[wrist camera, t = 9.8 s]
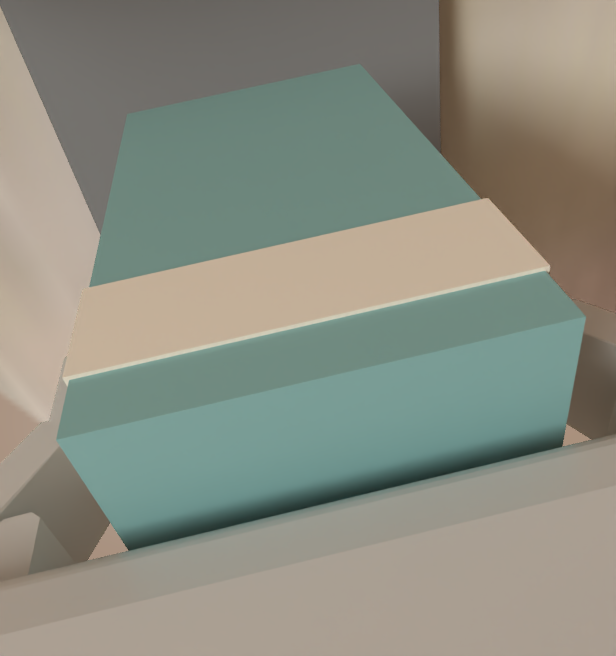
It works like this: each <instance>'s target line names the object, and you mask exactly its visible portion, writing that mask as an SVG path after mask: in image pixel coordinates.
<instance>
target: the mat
mask: <svg viewBox="0 0 616 656" xmlns="http://www.w3.org/2000/svg"><path fill="white" fill-rule="evenodd" d="M0 6H1V9H2V11H3V13H4V16H5V18H6V20H7V22H8V25H9V27H10V29H11V32H12V34H13V36H14V38H15V41H16V43H17V45H18V48H19V50H20V52H21V54H22V57H23V59H24V61H25V63H26V66H27V68H28V70H29V73H30V75H31V77H32V79H33V82H34V84H35V86H36V89H37V91H38V93H39V95H40V98H41V100H42V102H43V105H44V107H45V109H46V111H47V114H48V116H49V118H50V121H51V123H52V125H53V127H54V130H55V132H56V134H57V137H58V139H59V141H60V143H61V146H62V148H63V150H64V152H65V155H66V157H67V159H68V162H69V164H70V166H71V168H72V171H73V173H74V175H75V178H76V180H77V182H78V184H79V187H80V189H81V191H82V194H83V196H84V198H85V200H86V203H87V205H88V207H89V210H90V212H91V214H92V216H93V219H94V221H95V223H96V226H97V228H98V230H99V232H100V235H101V231H102V227H103V222H104V218H105V213H106V209H107V204H108V199H109V195H110V190H111V186H112V181H113V177H114V172H115V167H116V163H117V158H118V154H119V149H120V144H121V140H122V135H123V131H124V126H125V122H126V117H127V114H129V113H134V112H139V111H143V110H148V109H153V108H157V107H162V106H167V105H171V104H176V103H180V102H185V101H190V100H194V99H199V98H204V97H208V96H213V95H218V94H222V93H227V92H231V91H236V90H241V89H245V88H250V87H255V86H259V85H264V84H269V83H273V82H278V81H282V80H287V79H292V78H296V77H301V76H306V75H310V74H315V73H320V72H324V71H329V70H333V69H338V68H343V67H347V66H352V65H357V64H361V65H362V67H363V68H364V69H365V70H366V71H367V72H368V73H369V74H370V76H371V77H372V78H373V79H374V80H375V81H376V82H377V83H378V84H379V86H380V87H381V88H382V89H383V90H384V91H385V92H386V93H387V95H388V96H389V97H390V98H391V99H392V100H393V101H394V102H395V103H396V105H397V106H398V107H399V108H400V109H401V110H402V111H403V112H404V113H405V115H406V116H407V117H408V118H409V119H410V120H411V121H412V122H413V124H414V125H415V126H416V127H417V128H418V129H419V130H420V131H421V132H422V134H423V135H424V136H425V137H426V138H427V139H428V140H429V141H430V143H431V144H432V145H433V146H434V147H435V148H436V149H437V150H438V151H439V153H440V154H441V141H440V53H439V0H0Z"/></svg>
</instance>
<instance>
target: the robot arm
mask: <svg viewBox="0 0 616 656" xmlns="http://www.w3.org/2000/svg"><path fill="white" fill-rule="evenodd" d="M572 301H573V302H574V303H575V305H576V306H577V307H578V308H579V309H580V310H581V311H582V312H583V314H584V315H585V316H586V320H585V325H584V331H583V336H582V342H581V347H580V353H579V358H578V364H577V369H576V374H575V380H574V385H573V391H572V396H571V402H570V407H569V412H568V418H567V423H566V424H568V425H569V426H571V427H572V428H574V429H576V430H577V431H579V432H580V433H582V434H584V435H585V436H587V437H589V438H590V439H592V440H588V441H584V442H581V443H576V444H572V445H568V446H563V447H559V448H555V449H551V450H547V451H542V452H538V453H534V454H530V455H526V456H521V457H517V458H513V459H509V460H505V461H500V462H496V463H492V464H488V465H484V466H480V467H475V468H471V469H467V470H463V471H459V472H454V473H450V474H446V475H442V476H438V477H433V478H429V479H425V480H421V481H417V482H413V483H408V484H404V485H400V486H396V487H392V488H388V489H383V490H379V491H375V492H371V493H367V494H363V495H359V496H354V497H350V498H346V499H342V500H338V501H334V502H329V503H325V504H321V505H317V506H313V507H309V508H305V509H300V510H296V511H292V512H288V513H284V514H280V515H275V516H271V517H267V518H263V519H259V520H255V521H251V522H246V523H242V524H238V525H234V526H230V527H226V528H221V529H217V530H213V531H209V532H205V533H201V534H196V535H192V536H188V537H184V538H180V539H176V540H172V541H167V542H163V543H159V544H155V545H151V546H147V547H142V548H138V549H134V550H130V551H126V552H122V553H117V554H113V555H109V556H105V557H101V558H97V559H93V560H88V559H89V557H90V555H91V554H92V552H93V550H94V548H95V547H96V545H97V544H98V542H99V540H100V539H101V537H102V535H103V534H104V532H105V531H106V529H107V527H108V526H109V524H110V521H109V520H108V518H107V517H106V515H105V514H104V512H103V511H102V509H101V508H100V506H99V505H98V503H97V502H96V500H95V499H94V497H93V496H92V494H91V493H90V491H89V489H88V488H87V486H86V485H85V483H84V482H83V480H82V479H81V477H80V476H79V474H78V473H77V471H76V470H75V468H74V467H73V465H72V464H71V462H70V461H69V459H68V458H67V456H66V455H65V453H64V452H63V450H62V448H61V447H60V445H59V444H58V442H57V441H56V437H57V433H58V428H59V424H60V419H61V415H62V410H63V405H64V401H65V396H66V392H67V385H66V384H65V382H64V380H63V378H62V376H63V372H64V367H65V363H66V359H67V356H66V357H65V358H64V361H63V365H62V369H61V373H60V377H59V381H58V385H57V389H56V394H55V398H54V402H53V406H52V410H51V414H50V418H49V421H46V422H42V423H40V424H39V425H38V426H37V427H36V428H35V429H34V430H33V431H32V432H31V433H30V434H29V435H28V436H27V437H26V438H25V439H24V440H23V441H22V442H21V443H20V444H19V445H18V446H17V447H16V448H15V449H14V450H13V451H12V452H11V453H10V454H9V455H8V456H7V457H6V458H5V460H3V461H2V462H1V463H0V656H616V313H614V312H611V311H608V310H605V309H602V308H599V307H596V306H593V305H590V304H588V303H585V302H582V301H579V300H576V299H572ZM87 560H88V561H87Z"/></svg>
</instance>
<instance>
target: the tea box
mask: <svg viewBox="0 0 616 656" xmlns="http://www.w3.org/2000/svg"><path fill="white" fill-rule="evenodd" d="M549 272H550V265H549V264H548V263H547V261H546V260H545V259H544V258H543V257H542V256H541V255H540V254H539V253H538V252H537V251H536V250H535V248H534V247H533V246H532V245H531V244H530V243H529V242H528V241H527V240H526V239H525V238H524V236H523V235H522V234H521V233H520V232H519V231H518V230H517V229H516V228H515V227H514V226H513V224H512V223H511V222H510V221H509V220H508V219H507V218H506V217H505V216H504V215H503V214H502V213H501V211H500V210H499V209H498V208H497V207H496V206H495V205H494V204H493V203H492V202H491V201H490V199H489V198H485V199H481V198H480V197H479V196H478V195H477V194H476V193H475V192H474V191H473V189H472V188H471V187H470V186H469V185H468V184H467V183H466V182H465V181H464V179H463V178H462V177H461V176H460V175H459V174H458V173H457V172H456V170H455V169H454V168H453V167H452V166H451V165H450V164H449V163H448V162H447V160H446V159H445V158H444V157H443V156H442V155H441V154H440V153H439V151H438V150H437V149H436V148H435V147H434V146H433V145H432V144H431V143H430V141H429V140H428V139H427V138H426V137H425V136H424V135H423V134H422V132H421V131H420V130H419V129H418V128H417V127H416V126H415V125H414V124H413V122H412V121H411V120H410V119H409V118H408V117H407V116H406V115H405V113H404V112H403V111H402V110H401V109H400V108H399V107H398V106H397V105H396V103H395V102H394V101H393V100H392V99H391V98H390V97H389V96H388V95H387V93H386V92H385V91H384V90H383V89H382V88H381V87H380V86H379V84H378V83H377V82H376V81H375V80H374V79H373V78H372V77H371V76H370V74H369V73H368V72H367V71H366V70H365V69H364V68H363V67H362V65H361V64H357V65H352V66H347V67H343V68H338V69H333V70H329V71H324V72H320V73H315V74H310V75H306V76H301V77H296V78H292V79H287V80H282V81H278V82H273V83H269V84H264V85H259V86H255V87H250V88H245V89H241V90H236V91H231V92H227V93H222V94H218V95H213V96H208V97H204V98H199V99H194V100H190V101H185V102H180V103H176V104H171V105H167V106H162V107H157V108H153V109H148V110H143V111H139V112H134V113H129V114H127V117H126V122H125V126H124V131H123V135H122V140H121V144H120V149H119V154H118V158H117V163H116V167H115V172H114V177H113V181H112V186H111V190H110V195H109V199H108V204H107V209H106V213H105V218H104V222H103V227H102V231H101V236H100V241H99V245H98V250H97V254H96V259H95V264H94V268H93V273H92V277H91V282H90V286H89V288H85V289H83V290H82V294H81V299H80V303H79V307H78V312H77V316H76V320H75V324H74V329H73V333H72V337H71V342H70V346H69V350H68V354H67V359H66V363H65V367H64V372H63V376H62V378H63V380H64V382H65V384H66V385H67V392H66V396H65V401H64V405H63V410H62V415H61V419H60V424H59V428H58V433H57V437H56V441H57V442H58V444H59V445H60V447H61V448H62V450H63V452H64V453H65V455H66V456H67V458H68V459H69V461H70V462H71V464H72V465H73V467H74V468H75V470H76V471H77V473H78V474H79V476H80V477H81V479H82V480H83V482H84V483H85V485H86V486H87V488H88V489H89V491H90V493H91V494H92V496H93V497H94V499H95V500H96V502H97V503H98V505H99V506H100V508H101V509H102V511H103V512H104V514H105V515H106V517H107V518H108V520H109V521H110V523H111V524H112V526H113V527H114V529H115V530H116V532H117V534H118V535H119V536H120V538H121V539H122V541H123V543H124V544H125V546H126V547H127V549H128V550H129V551H130V550H134V549H138V548H142V547H147V546H151V545H155V544H159V543H163V542H167V541H172V540H176V539H180V538H184V537H188V536H192V535H196V534H201V533H205V532H209V531H213V530H217V529H221V528H226V527H230V526H234V525H238V524H242V523H246V522H251V521H255V520H259V519H263V518H267V517H271V516H275V515H280V514H284V513H288V512H292V511H296V510H300V509H305V508H309V507H313V506H317V505H321V504H325V503H329V502H334V501H338V500H342V499H346V498H350V497H354V496H359V495H363V494H367V493H371V492H375V491H379V490H383V489H388V488H392V487H396V486H400V485H404V484H408V483H413V482H417V481H421V480H425V479H429V478H433V477H438V476H442V475H446V474H450V473H454V472H459V471H463V470H467V469H471V468H475V467H480V466H484V465H488V464H492V463H496V462H500V461H505V460H509V459H513V458H517V457H521V456H526V455H530V454H534V453H538V452H542V451H547V450H551V449H555V448H559V447H562V445H563V440H564V434H565V428H566V423H567V418H568V412H569V407H570V402H571V396H572V391H573V385H574V380H575V374H576V369H577V364H578V358H579V353H580V347H581V342H582V336H583V331H584V325H585V320H586V316H585V315H584V314H583V312H582V311H581V310H580V309H579V308H578V307H577V306H576V305H575V303H574V302H573V301H572V300H571V299H570V298H569V297H568V296H567V295H566V293H565V292H564V291H563V290H562V289H561V288H560V287H559V286H558V284H557V283H556V282H555V281H554V280H553V279H552V278H551V277H550V276H549Z"/></svg>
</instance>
